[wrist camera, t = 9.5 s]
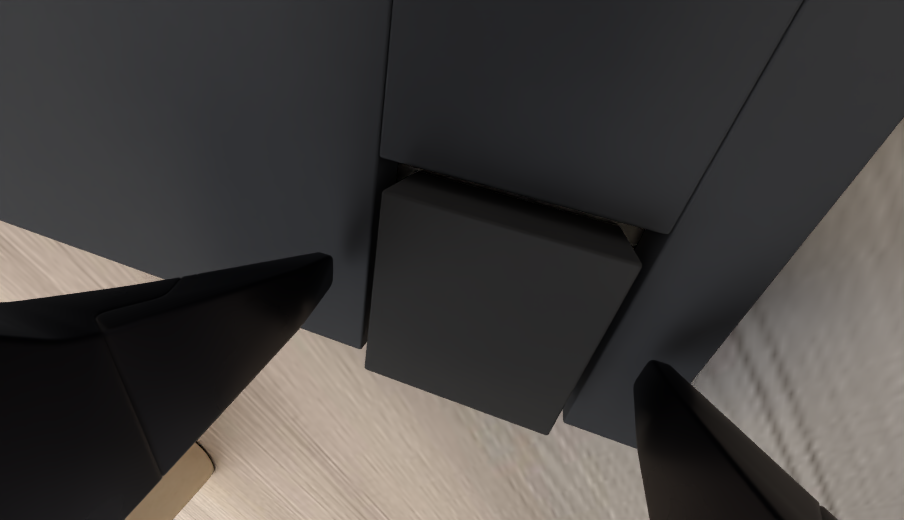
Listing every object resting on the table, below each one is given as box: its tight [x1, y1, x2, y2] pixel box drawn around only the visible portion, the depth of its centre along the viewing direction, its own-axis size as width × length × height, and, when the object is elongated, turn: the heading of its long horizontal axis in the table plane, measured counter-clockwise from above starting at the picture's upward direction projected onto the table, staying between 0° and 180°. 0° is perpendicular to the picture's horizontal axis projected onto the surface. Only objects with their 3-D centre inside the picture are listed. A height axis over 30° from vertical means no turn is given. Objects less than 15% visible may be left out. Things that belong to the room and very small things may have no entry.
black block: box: [365, 171, 642, 435], centre depth 10 cm, size 6×6×2 cm
